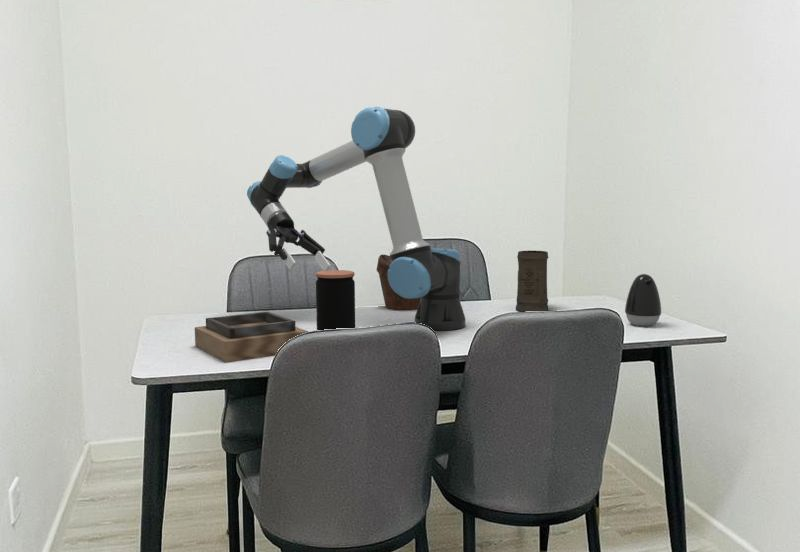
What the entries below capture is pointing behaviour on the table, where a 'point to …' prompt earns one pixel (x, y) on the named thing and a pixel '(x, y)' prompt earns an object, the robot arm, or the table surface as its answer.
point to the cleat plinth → (245, 335)
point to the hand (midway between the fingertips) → (310, 267)
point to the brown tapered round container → (389, 295)
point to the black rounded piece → (643, 302)
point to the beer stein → (532, 281)
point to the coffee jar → (335, 299)
